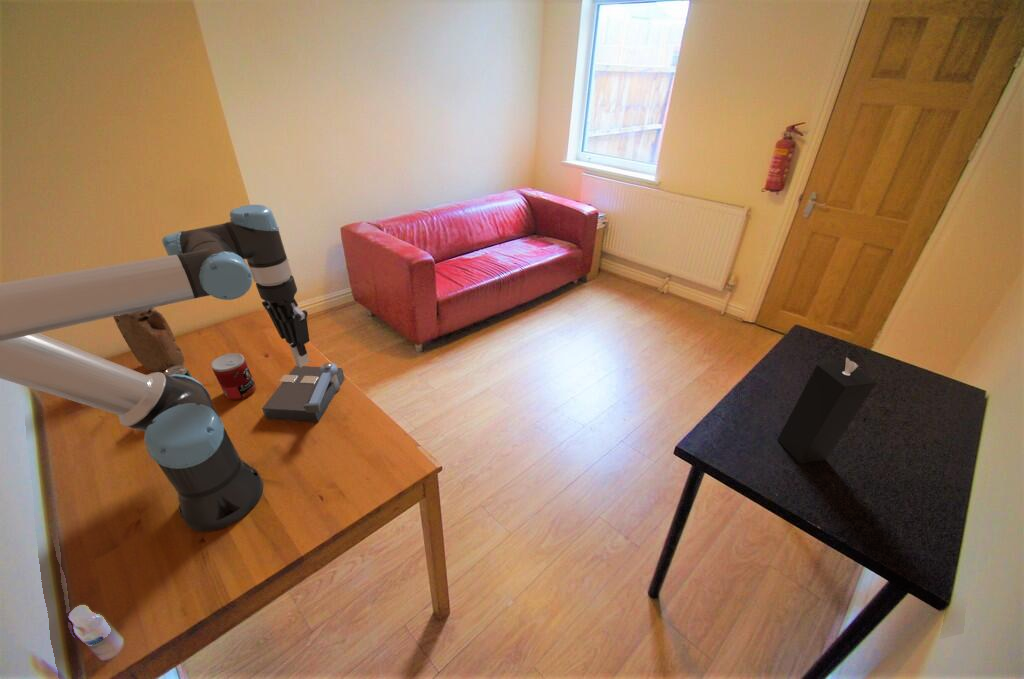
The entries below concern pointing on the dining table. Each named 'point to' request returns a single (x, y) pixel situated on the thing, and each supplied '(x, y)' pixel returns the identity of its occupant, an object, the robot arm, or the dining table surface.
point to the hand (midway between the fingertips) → (303, 363)
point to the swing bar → (320, 388)
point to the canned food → (234, 376)
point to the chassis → (301, 394)
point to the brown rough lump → (150, 339)
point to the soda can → (177, 370)
